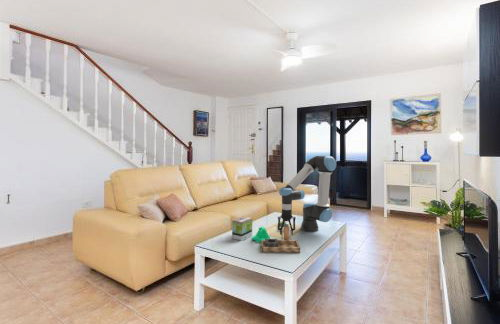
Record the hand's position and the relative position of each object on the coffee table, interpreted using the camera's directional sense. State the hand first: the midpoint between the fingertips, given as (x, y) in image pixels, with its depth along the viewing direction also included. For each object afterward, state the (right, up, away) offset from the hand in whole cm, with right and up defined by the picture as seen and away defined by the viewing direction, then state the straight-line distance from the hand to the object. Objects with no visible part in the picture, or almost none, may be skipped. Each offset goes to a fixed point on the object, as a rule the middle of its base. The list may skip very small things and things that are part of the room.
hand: (286, 239), depth 197 cm
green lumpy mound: (-19, -3, +3) cm, 20 cm away
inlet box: (-6, -3, -13) cm, 15 cm away
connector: (0, -2, 0) cm, 2 cm away
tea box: (-34, -2, +11) cm, 36 cm away
